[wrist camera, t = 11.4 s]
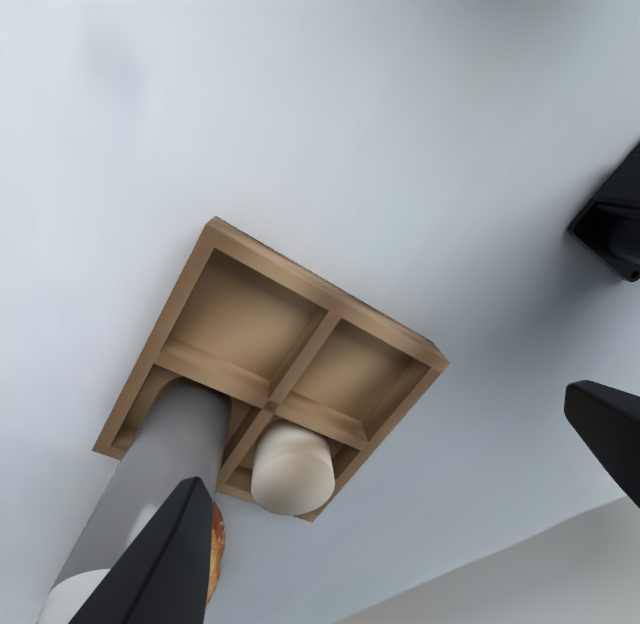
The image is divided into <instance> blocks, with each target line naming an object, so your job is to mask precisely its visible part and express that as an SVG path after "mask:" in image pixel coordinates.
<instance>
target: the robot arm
mask: <svg viewBox="0 0 640 624" xmlns="http://www.w3.org/2000/svg"><path fill="white" fill-rule="evenodd" d="M580 225H581V226H580ZM579 226H580V229H579V230H578V227H579ZM568 231H569V234H570V235H571V236H573V237H574V238H575V239H576V240H577V241H578V242H580V243H581V244H582V245H583V246H584V247H585V248H587V249H588V250H589V251H590V252H591V253H593V254H594V255H595V256H596V257H597V258H598V259H600V260H601V261H602V262H603V263H604V264H606V265H607V266H608V267H609V268H610V269H611V270H613V271H614V272H615V273H616V274H617V275H619V276H620V277H621V278H622V279H624V280H626V281H629V282H635V281H637V280H638V279H640V144H639V145H638V146H637V147H636V148H635V149H634V151H633V152H632V153H631V154H630V155H629V156H628V158H627V159H626V160H625V161H624V162H623V163H622V164H621V166H620V167H619V168H618V169H617V170H616V171H615V173H614V174H613V175H612V176H611V177H610V178H609V180H608V181H607V182H606V183H605V184H604V185H603V186H602V188H601V189H600V190H599V191H598V192H597V193H596V195H595V196H594V197H593V198H592V199H591V200H590V202H589V203H588V204H587V205H586V206H585V207H584V208H583V210H582V211H581V212H580V213H579V214H578V215H577V217H576V218H575V219H574V220H573V221H572V222H571V224H570V225H569V228H568ZM631 274H632V275H631ZM564 413H565V416H566V418H567V420H568V421H569V423H570V424H571V425H572V426H573V428H574V429H575V430H576V432H577V433H578V434H579V436H580V437H581V438H582V440H583V441H584V442H585V443H586V445H587V446H588V447H589V449H590V450H591V451H592V453H593V454H594V455H595V457H596V458H597V459H598V461H599V462H600V463H601V464H602V466H603V467H604V468H605V470H606V471H607V472H608V473H609V475H610V476H611V477H612V478H613V479H614V481H615V482H616V483H617V484H618V485H619V486H620V487H621V489H622V490H623V491H624V492H625V493H626V494H627V495H628V496H629V497H630V499H632V501H633V502H634V503H635V504H636V505H637V506H638V507H639V508H640V397H639V396H636V395H633V394H630V393H627V392H624V391H621V390H617V389H614V388H611V387H608V386H605V385H602V384H599V383H596V382H593V381H589V380H582V381H578V382H573V383H570V384H568V386H567V387H566V394H565V403H564ZM212 523H213V501H212V498H211V496H210V494H209V492H208V490H207V488H206V486H205V484H204V482H203V481H202V479H201V478H200V477H199V476H195V477H191V478H187V479H183V480H181V481H180V482H179V483H178V484H177V486H176V487H175V488H174V490H173V491H172V492H171V493H170V495H169V496H168V497H167V498H166V500H165V501H164V502H163V503H162V505H161V506H160V507H159V508H158V510H157V511H156V512H155V514H154V515H153V516H152V517H151V519H150V520H149V521H148V522H147V524H146V525H145V526H144V527H143V529H142V530H141V531H140V533H139V534H138V535H137V536H136V538H135V539H134V540H133V541H132V543H131V544H130V545H129V546H128V548H127V549H126V550H125V552H124V553H123V554H122V555H121V557H120V558H119V559H118V560H117V562H116V563H115V564H114V565H113V567H112V568H111V569H110V571H109V572H108V573H107V574H106V576H105V577H104V578H103V579H102V581H101V582H100V583H99V584H98V586H97V587H96V588H95V590H94V591H93V592H92V593H91V595H90V596H89V597H88V598H87V600H86V601H85V602H84V603H83V605H82V606H81V607H80V609H79V610H78V611H77V612H76V614H75V615H74V616H73V617H72V619H71V620H70V621H69V622H68V624H203V622H204V615H205V608H206V601H207V594H208V587H209V578H210V562H211V543H212Z"/></svg>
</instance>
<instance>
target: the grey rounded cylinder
mask: <svg viewBox="0 0 640 624" xmlns="http://www.w3.org/2000/svg"><path fill="white" fill-rule="evenodd" d="M231 414H232V401H231V398H230V396H229V395H227V394H225V393H223V392H220V391H218V390H216V389H213V388H211V387H208V386H206V385H204V384H201V383H199V382H197V381H194V380H192V379H189V378H187V377H185V376H182V377H178V378H175V379H173V380H171V381H169V382H167V383H166V384H165V385H164V386H163V387H162V388H161V389H160V390H159V392H158V394H157V396H156V398H155V399H154V401H153V403H152V405H151V407H150V409H149V410H148V412H147V414H146V416H145V418H144V420H143V421H142V423H141V425H140V427H139V429H138V431H137V432H136V434H135V436H134V438H133V440H132V442H131V444H130V445H129V447H128V449H127V451H126V453H125V455H124V456H123V458H122V460H121V462H120V464H119V466H118V467H117V469H116V471H115V473H114V475H113V477H112V478H111V480H110V482H109V484H108V486H107V488H106V489H105V491H104V493H103V495H102V497H101V499H100V501H99V502H98V504H97V506H96V508H95V510H94V512H93V513H92V515H91V517H90V519H89V521H88V523H87V524H86V526H85V528H84V530H83V532H82V534H81V535H80V537H79V539H78V541H77V543H76V545H75V547H74V548H73V550H72V552H71V554H70V556H69V558H68V559H67V561H66V563H65V565H64V567H63V569H62V570H61V572H60V574H59V576H58V578H57V580H56V581H55V583H54V585H53V587H52V589H51V591H50V593H49V594H48V596H47V598H46V600H45V602H44V604H43V607H42V609H41V611H40V614H39V616H38V619H37V622H36V624H68V622H69V621H70V620H71V619H72V617H73V616H74V615H75V614H76V612H77V611H78V610H79V609H80V607H81V606H82V605H83V603H84V602H85V601H86V600H87V598H88V597H89V596H90V595H91V593H92V592H93V591H94V590H95V588H96V587H97V586H98V584H99V583H100V582H101V581H102V579H103V578H104V577H105V576H106V574H107V573H108V572H109V571H110V569H111V568H112V567H113V565H114V564H115V563H116V562H117V560H118V559H119V558H120V557H121V555H122V554H123V553H124V552H125V550H126V549H127V548H128V546H129V545H130V544H131V543H132V541H133V540H134V539H135V538H136V536H137V535H138V534H139V533H140V531H141V530H142V529H143V527H144V526H145V525H146V524H147V522H148V521H149V520H150V519H151V517H152V516H153V515H154V514H155V512H156V511H157V510H158V508H159V507H160V506H161V505H162V503H163V502H164V501H165V500H166V498H167V497H168V496H169V495H170V493H171V492H172V491H173V490H174V488H175V487H176V486H177V484H178V483H179V482H180V481H181V480H183V479H187V478H191V477H195V476H199V477H200V478H201V479H202V481H203V482H204V484H205V486H206V488H207V490H208V492H209V494H210V496H211V498H212V501H214V496H215V491H216V486H217V481H218V477H219V472H220V467H221V462H222V457H223V452H224V448H225V443H226V438H227V433H228V428H229V423H230V418H231Z"/></svg>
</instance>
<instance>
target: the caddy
mask: <svg viewBox="0 0 640 624" xmlns="http://www.w3.org/2000/svg"><path fill="white" fill-rule="evenodd" d="M449 364H450V362H449V361H448V360H447V359H446V358H445V356H444V355H443V354H442V353H441V352H440V350H439V349H438V348H437V347H436V346H435V344H434V343H433V342H431V341H429V340H427V339H426V338H424V337H422V336H421V335H419V334H417V333H415V332H414V331H412V330H410V329H409V328H407V327H405V326H403V325H402V324H400V323H398V322H397V321H395V320H393V319H391V318H390V317H388V316H386V315H385V314H383V313H381V312H379V311H378V310H376V309H374V308H373V307H371V306H369V305H367V304H366V303H364V302H362V301H360V300H359V299H357V298H355V297H354V296H352V295H350V294H348V293H347V292H345V291H343V290H342V289H340V288H338V287H336V286H335V285H333V284H331V283H330V282H328V281H326V280H324V279H323V278H321V277H319V276H318V275H316V274H314V273H312V272H311V271H309V270H307V269H306V268H304V267H302V266H300V265H299V264H297V263H295V262H294V261H292V260H290V259H288V258H287V257H285V256H283V255H282V254H280V253H278V252H276V251H275V250H273V249H271V248H270V247H268V246H266V245H264V244H263V243H261V242H259V241H257V240H256V239H254V238H252V237H251V236H249V235H247V234H245V233H244V232H242V231H240V230H239V229H237V228H235V227H233V226H232V225H230V224H228V223H227V222H225V221H223V220H221V219H220V218H218V217H216V216H215V217H214V218H213V219H212V220H210V221H209V222H208V223H207V224H206V225H205V227H204V229H203V231H202V233H201V235H200V237H199V239H198V241H197V243H196V245H195V247H194V249H193V251H192V253H191V255H190V257H189V259H188V261H187V263H186V265H185V267H184V269H183V271H182V273H181V275H180V277H179V279H178V281H177V283H176V285H175V287H174V289H173V291H172V293H171V295H170V296H169V298H168V300H167V302H166V304H165V306H164V308H163V310H162V312H161V314H160V316H159V318H158V320H157V322H156V324H155V326H154V328H153V330H152V332H151V334H150V336H149V338H148V340H147V342H146V344H145V346H144V348H143V350H142V352H141V354H140V356H139V358H138V360H137V362H136V364H135V366H134V368H133V370H132V372H131V374H130V376H129V378H128V380H127V382H126V384H125V386H124V388H123V390H122V392H121V394H120V396H119V398H118V400H117V402H116V404H115V406H114V408H113V410H112V412H111V414H110V416H109V418H108V419H107V421H106V423H105V425H104V427H103V429H102V431H101V433H100V435H99V437H98V439H97V441H96V443H95V445H94V447H93V449H92V451H94V452H97V453H100V454H104V455H107V456H110V457H113V458H116V459H119V460H122V458H123V456H124V455H125V453H126V451H127V449H128V447H129V445H130V444H131V442H132V440H133V438H134V436H135V434H136V432H137V431H138V429H139V427H140V425H141V423H142V421H143V420H144V418H145V416H146V414H147V412H148V410H149V409H150V407H151V405H152V403H153V401H154V399H155V398H156V396H157V394H158V392H159V390H160V389H161V388H162V387H163V386H164V385H165V384H166V383H167V382H169V381H171V380H173V379H175V378H178V377H182V376H185V377H187V378H189V379H192V380H194V381H197V382H199V383H201V384H204V385H206V386H208V387H211V388H213V389H216V390H218V391H220V392H223V393H225V394H227V395H229V396H230V398H231V401H232V414H231V418H230V423H229V428H228V433H227V438H226V443H225V448H224V452H223V457H222V462H221V467H220V472H219V477H218V481H217V486H216V491H217V492H221V493H224V494H227V495H230V496H233V497H236V498H239V499H242V500H245V501H248V502H251V503H254V504H258V505H259V506H260V507H262V508H263V509H265V510H267V511H269V512H271V513H274V514H278V515H287V516H290V515H291V516H294V517H298V518H301V519H304V520H307V521H310V522H313V521H314V520H315V519H316V518H317V516H318V515H319V514H320V513H321V512H322V511H323V509H324V508H325V507H326V506H327V505H328V504H329V503H330V501H331V500H332V499H333V498H334V497H335V496H336V494H337V493H338V492H339V491H340V490H341V489H342V487H343V486H344V485H345V484H346V483H347V482H348V481H349V479H350V478H351V477H352V476H353V475H354V474H355V472H356V471H357V470H358V469H359V468H360V467H361V465H362V464H363V463H364V462H365V461H366V460H367V459H368V457H369V456H370V455H371V454H372V453H373V452H374V450H375V449H376V448H377V447H378V446H379V445H380V443H381V442H382V441H383V440H384V439H385V438H386V437H387V435H388V434H389V433H390V432H391V431H392V430H393V428H394V427H395V426H396V425H397V424H398V423H399V421H400V420H401V419H402V418H403V417H404V416H405V415H406V413H407V412H408V411H409V410H410V409H411V408H412V406H413V405H414V404H415V403H416V402H417V401H418V399H419V398H420V397H421V396H422V395H423V394H424V393H425V391H426V390H427V389H428V388H429V387H430V386H431V384H432V383H433V382H434V381H435V380H436V379H437V377H438V376H439V375H440V374H441V373H442V372H443V370H444V369H445V368H446V367H447V366H448V365H449Z"/></svg>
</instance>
